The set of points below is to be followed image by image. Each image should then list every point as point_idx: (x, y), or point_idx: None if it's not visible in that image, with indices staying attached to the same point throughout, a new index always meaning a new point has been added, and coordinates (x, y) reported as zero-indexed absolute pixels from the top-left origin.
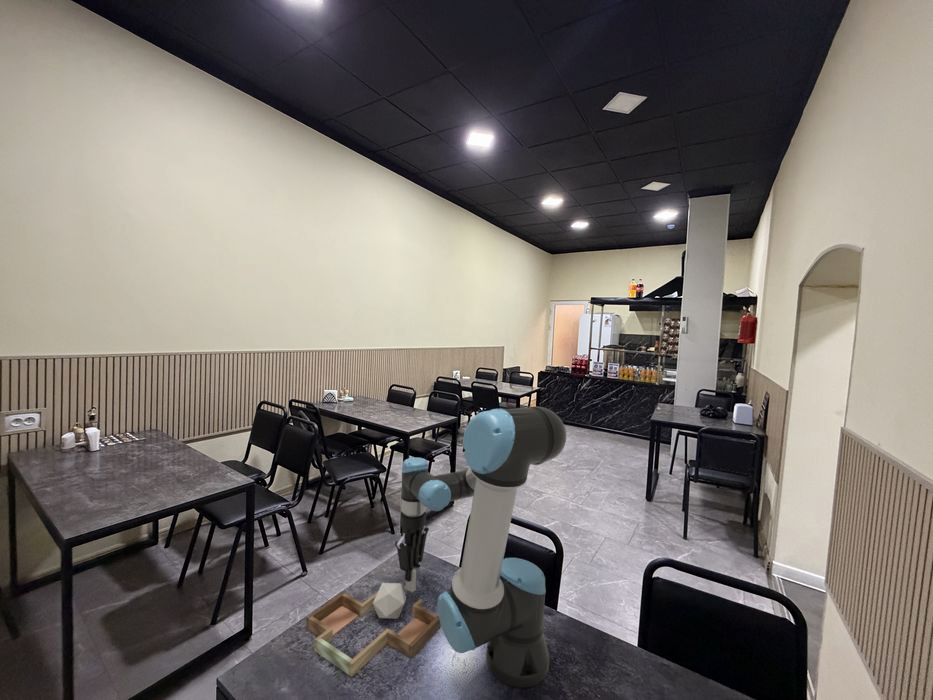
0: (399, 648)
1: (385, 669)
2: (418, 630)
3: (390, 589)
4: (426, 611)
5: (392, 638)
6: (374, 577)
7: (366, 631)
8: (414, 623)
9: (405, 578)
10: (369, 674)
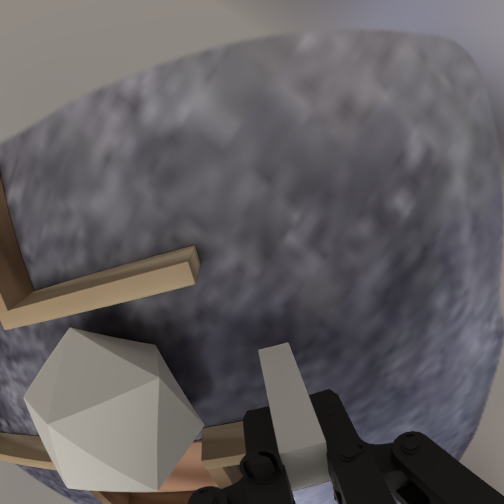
0: None
1: None
2: (184, 473)
3: (84, 481)
4: None
5: None
6: (213, 60)
7: (33, 375)
8: (189, 455)
9: (244, 425)
10: None
